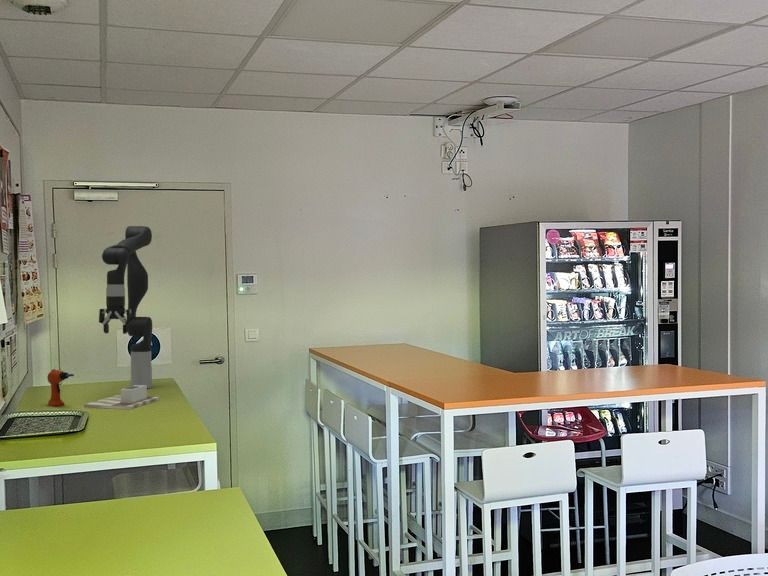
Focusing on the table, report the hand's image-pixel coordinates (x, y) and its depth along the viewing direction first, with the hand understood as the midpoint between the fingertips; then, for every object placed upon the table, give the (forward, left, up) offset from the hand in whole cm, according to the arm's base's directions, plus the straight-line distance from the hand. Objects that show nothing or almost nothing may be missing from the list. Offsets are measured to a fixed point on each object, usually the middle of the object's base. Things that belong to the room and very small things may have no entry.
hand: (115, 333), depth 328 cm
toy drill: (+20, -12, -28) cm, 37 cm away
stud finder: (+8, +13, -27) cm, 31 cm away
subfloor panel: (+8, +8, -28) cm, 30 cm away
